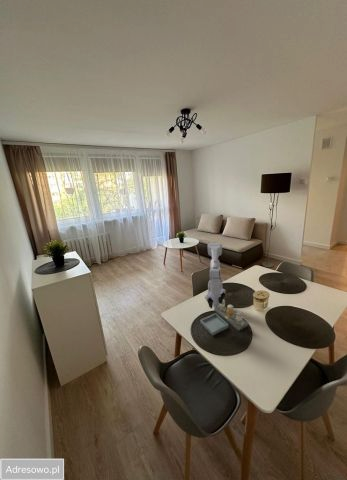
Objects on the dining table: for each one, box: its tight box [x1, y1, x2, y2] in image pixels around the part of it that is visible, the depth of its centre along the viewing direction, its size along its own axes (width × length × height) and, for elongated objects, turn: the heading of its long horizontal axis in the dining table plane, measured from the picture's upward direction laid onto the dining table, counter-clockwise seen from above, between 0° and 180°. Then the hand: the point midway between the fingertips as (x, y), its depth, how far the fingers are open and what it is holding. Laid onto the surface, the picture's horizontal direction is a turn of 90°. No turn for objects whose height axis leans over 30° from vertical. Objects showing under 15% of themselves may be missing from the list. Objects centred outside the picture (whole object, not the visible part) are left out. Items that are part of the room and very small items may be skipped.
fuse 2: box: [235, 310, 243, 325], centre depth 113 cm, size 4×4×7 cm
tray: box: [199, 312, 230, 337], centre depth 115 cm, size 12×12×2 cm
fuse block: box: [213, 305, 249, 332], centre depth 120 cm, size 22×8×3 cm, turn 27°
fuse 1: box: [220, 298, 226, 311], centre depth 126 cm, size 4×4×7 cm
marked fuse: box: [226, 304, 234, 317], centre depth 119 cm, size 4×4×7 cm
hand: (215, 305), depth 119 cm, fingers open, 7 cm apart
